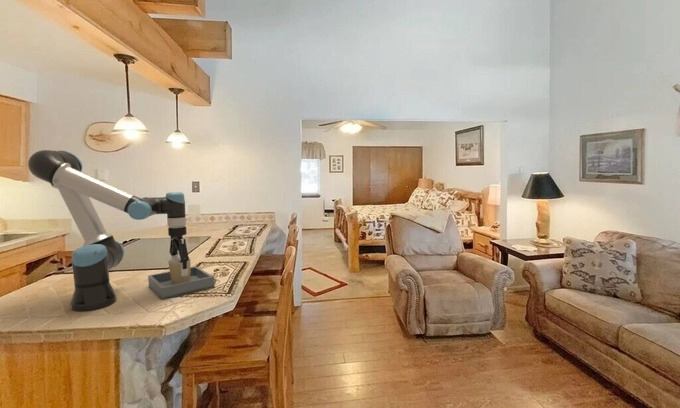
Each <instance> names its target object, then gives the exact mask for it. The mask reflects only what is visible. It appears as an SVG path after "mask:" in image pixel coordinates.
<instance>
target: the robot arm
mask: <svg viewBox="0 0 680 408" xmlns="http://www.w3.org/2000/svg"><path fill="white" fill-rule="evenodd" d="M27 166H28V170H29V171H30V172H31V174H32V175H33V176H35V177H36V178H37V179H40V180H42V181H44V182H47V183H49V184H50V186H51V187H52V188H55V189H57V190H58V191H59V193H60V195H61V198H62V199H63V201H64V204H65V205H66V207H67V209H68V212H69V213H70V215H71V216H72V217H71V218H72V219H73V221H74V223H75V225H76V227H77V229H78V230H79V233H80V235H81V237H82V238H83V241H84V242H83V244H82V246H80V247H77V248H76V249H74V250H73V251H72V253H71V265H72V274H73V282H74V291H73V294H72V299H71V302H70V308H71V310H72V311H76V312H86V311H94V310H98V309H102V308H106V307H108V306H111V305H113V304H114V303H115V302H116V301H117V295H116V292H115V290H114V288H113V286H112V285H111V282H110V272H109V271H111V270H112V269H113V268H115V267H117V266H118V265H119V264H120V262H122V260H123V259H124V255H125V249H124V247H123V245H122V244H121V242H119V241H117V240H116V239H115V238H114V236H113V234H110V233H108V232H107V229H106V228H105V227H104V224H103V223H102V220H101V219H100V216H99V214H98V213H97V212H98V211H97V210H96V208H95V207H94V205H93V202H92V201H91V199H94V200H96V201H98V202H101V203H102V204H105V205H107V206H109V207H111V208H115V209H116V210H119V211H121V212H124V213H126V214H128V215H129V217H130V218H132V219H133V220H136V221H138V220H139V221H140V220H145V219H148V218H149V217H151V216H153V215H167V217H166V220H167V222H166V223H167V227H168V228H167V233H168V234H167V235H168V236H169V237H170V244H169V252H168V253H169V254H170V257H171V258H170V259H172V258H176V257H180V259H181V260H180V264H181V276H187V275H188V265H187V261H189V258H190V256H189V253H188V248H187V241H186V238H183V237H184V236H186V235H187V227H186V224H187V220H188V219H187V218H186V199H185V194H184V192H181V191H175V192H174V191H173V192H172V191H171V192H167V193H165V196H162V197H158V196H157V197H148V196H147V197H138V196H136V195H135V194H134V195H133V194H132V193H129V192H127V191H125V190H123V189H120V188H118V187H117V186H114V185H112V184H110V183H107V182H105V181H102V180H101V179H98V178H96V177H93V176H91V175H89V174H87V173H85V172H82V170H83V162H82V160H81V159H80V158H79V156H77V155H76V154H74V153H72V152H69V151H65V150H52V149H51V150H50V149H43V150H38V151H36V152H34V153H32V155H31V156H30V157H29V159H28V162H27Z"/></svg>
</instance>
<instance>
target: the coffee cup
mask: <svg viewBox="0 0 680 408" xmlns="http://www.w3.org/2000/svg"><path fill="white" fill-rule="evenodd" d="M180 260H181V259H180V256H178V257H176V258H172V259H171V258H170V259H168V268H169V271H170V276H171V283H172V285H175V284H179V283H184V282H188V281H190V267H191V262H192V261H191V257H189V261H187V265H188V275H187V276H181V264H180Z"/></svg>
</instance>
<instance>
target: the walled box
mask: <svg viewBox="0 0 680 408" xmlns="http://www.w3.org/2000/svg"><path fill="white" fill-rule="evenodd" d="M147 278H148V279H147V280H148V287H149V288H150V290H152V291H153V292H154V293H155V294H156V295H157V296H158V297H159V298H160V299H161V300H162V301H163V300H167V299H172V298H176V297H179V296H180V297H181V296H184V295H188V294H192V293H193V294H194V293H197V292H201V291H205V289H206V290H209V288H210V289H213V288H212V287H214V288H215V287H216V286H215V276H213V275H212V274H210V273H208V272H207V271H206V270H204V269H202V268H200V267H199V266H197V265H196V266H190V281H188V282H184V283H179V284H175V285H172V283H171V276H170V270H169V271H166V272H161V273H154V274H150V275H147Z"/></svg>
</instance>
